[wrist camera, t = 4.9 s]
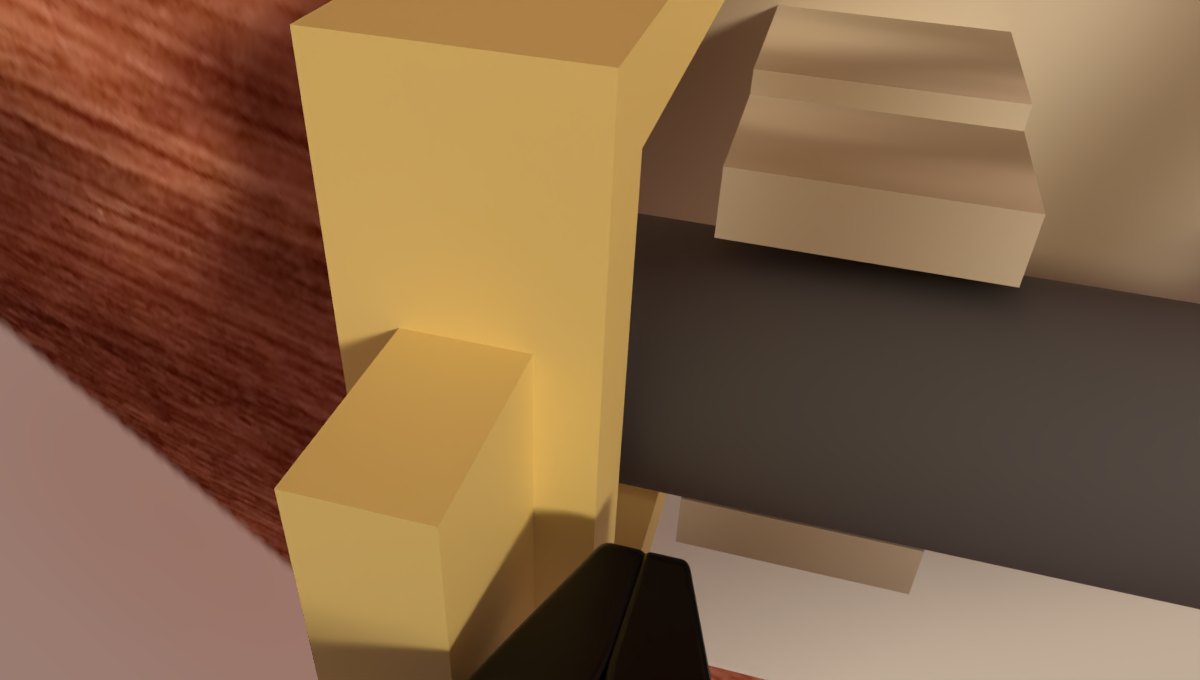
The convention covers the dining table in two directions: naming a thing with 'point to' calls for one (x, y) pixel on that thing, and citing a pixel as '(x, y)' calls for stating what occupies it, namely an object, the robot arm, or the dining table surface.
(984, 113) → the holder
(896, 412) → the dark grey cylinder rod
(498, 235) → the strap
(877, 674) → the mat
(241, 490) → the dining table surface
